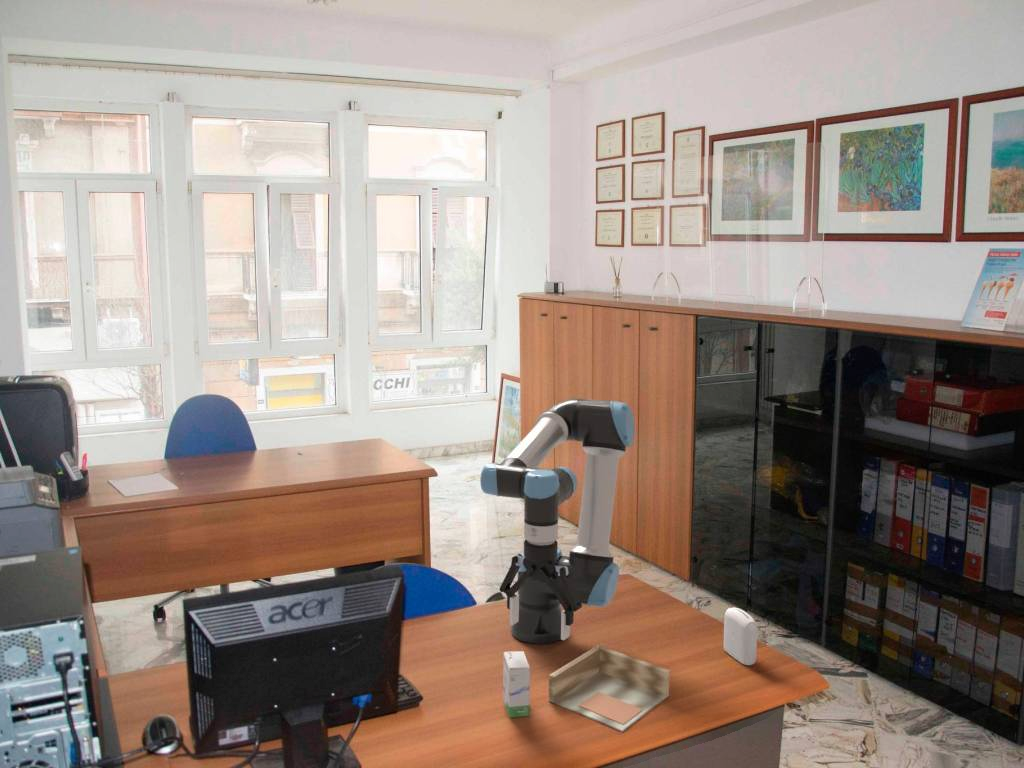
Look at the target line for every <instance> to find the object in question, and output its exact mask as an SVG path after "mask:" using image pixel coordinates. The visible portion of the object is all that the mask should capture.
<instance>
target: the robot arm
mask: <svg viewBox="0 0 1024 768" xmlns="http://www.w3.org/2000/svg"><path fill="white" fill-rule="evenodd" d="M632 410H633V409H631V406H630V405H629V404H627V403H626V402H621V401H615V400H601V399H587V398H586V399H585V398H583V399H582V398H570V399H567V400H562V401H561V402H557V403H555V404H553V405H552V406H550V407H548V408H547V409H545V410H544V411H543V412H542V413H540V415H539V416H538V417H537V418H536V419H535V422H534V427H533V428H532V429H530V431H529V432H528V433H527V434H526V436H524V437H523V439H522V440H521V441H520V442H519V443H518V444H516V447H515V448H513V450H512V451H511V452H510V453H509V454H508V455H507V456H506V457H505V458H504V460H502V461H501V462H500V463H497V462H493V463H492V462H490V463H489V462H488V463H486V464H485V465H484V466H483V468H482V471H481V473H480V487H481V490H482V491H483V493H484V494H485V495H491V496H496V497H502V498H503V497H504V498H510V499H511V498H513V499H522V500H524V501H523V503H524V505H523V506H524V508H523V509H524V513H523V514H524V515H523V516H524V522H523V533H524V534H523V538H524V540H523V551H522V552H521V553H518V554H516V555H514V556H512V558H511V564H510V567H509V568H508V571H507V573H506V574H505V577H504V578H503V581H502V583H501V585H500V586H499V592H500V593H504V594H505V595H506V608H507V609H508V610H509V626H510V633H511V635H512V636H513V637H514V638H515V639H517V640H519V641H522V642H524V643H528V644H535V645H536V644H537V645H539V644H542V645H543V644H545V645H546V644H552V643H555V642H558V641H560V640H561V641H565V640H567V639H568V638H569V637H570V636H571V625H573V623H574V613H575V612H577V611H578V610H581V608H583V605H585V606H588V607H598V608H605V607H607V606H608V605H609V604H610V603H611V601H612V599H613V597H614V595H615V593H616V590H617V587H618V582H619V576H620V567H619V564H617V563H616V562H614V557H615V556H614V555H613V553H612V551H611V550H610V540H611V532H612V522H613V513H614V506H615V505H614V504H615V496H616V486H617V478H618V470H619V469H618V468H619V460H620V458H621V457H623V456H624V455H625V454H626V448H629V447H632V445H633V444H634V439H635V433H636V432H635V419H634V414H633V411H632ZM567 441H572V442H579V443H580V442H581V443H582V446H581V447H582V450H583V451H584V453H585V454H586V461H585V468H584V469H585V470H584V477H583V485H582V494H581V495H582V496H581V503H580V511H579V512H580V513H579V521H578V527H577V528H578V529H577V536H576V537H577V538H576V544H575V545H574V546H573V547H572V548H570V550H569V556H568V555H567V556H565V555H563V552H562V549H561V548H560V547H559V546H558V541H557V540H558V539H559V506H560V505H562V504H563V503H565V502H566V501H567V500H569V499H571V497H572V496H573V495H574V493H575V492H576V490H577V488H578V479H577V475H576V474H575V473H574V471H572V470H571V469H570V468H568V467H566V466H558V467H554V468H552V469H548V468H539V466H540V465H541V464H542V463H543V462H544V460H546V459H547V457H548V456H549V455H550V453H551V452H552V451H553V450H554V449H555V448H556V447H557V446H560V445H562V444H563V443H565V442H567ZM516 576H517V579H516V581H515V582H514V580H515V577H516ZM513 582H514V583H513ZM512 583H513V585H512Z"/></svg>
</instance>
